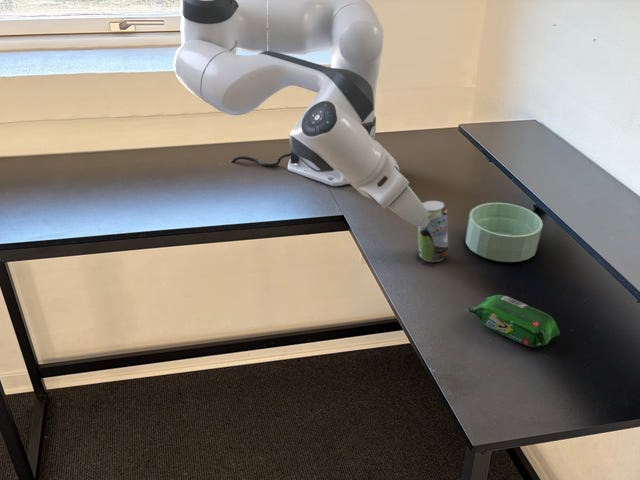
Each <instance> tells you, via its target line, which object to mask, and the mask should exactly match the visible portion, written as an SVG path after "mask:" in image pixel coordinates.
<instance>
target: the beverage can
mask: <svg viewBox="0 0 640 480" xmlns="http://www.w3.org/2000/svg"><path fill="white" fill-rule="evenodd" d="M422 204H423V205H424V206H425V208H426V209H427V211H428V213H429V216H428V217H427V219H428V220H429V221H430V223H429V224H428V225H427V226H426V227H425V228H423V227H422V226H421V225H420V226H418V227H417V244H418V256H419V258H421V259H422V260H424V261H425V262H429V263H436V262H441V261H442V260H444V259H445V258H447V257H448V255H449V231H448V230H449V227H448V225H449V224H448V223H449V222H448V209H447V208H446V206H445V203H444V202H443V201H441V200H425V201H423V202H422Z"/></svg>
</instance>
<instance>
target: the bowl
mask: <svg viewBox="0 0 640 480" xmlns="http://www.w3.org/2000/svg"><path fill="white" fill-rule="evenodd" d="M543 228H544V224H543V220H542V219H541V217H540V216H539V215H538V214H537V213H536V212H534V211H532V210H530V209H529V208H526V207H524V206H521V205H517V204H513V203H507V202H487V203H482V204H478V205H477V206H475V207H473V208H472V209H471V210H470V212H469V214H468V221H467V227H466V231H465V244H466V246H467V247H468V249H469V250H470V251H472V252H473V253H475V254H476V255H478V256H480V257H481V258H485V259H488V260H492V261H496V262H503V263H518V262H522V261H526V260H530V259H531V258H532V257H534V256H535V255H536V253H537V251H538V248H539V244H540V240H541V236H542V231H543Z"/></svg>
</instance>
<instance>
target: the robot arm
mask: <svg viewBox="0 0 640 480" xmlns="http://www.w3.org/2000/svg"><path fill="white" fill-rule="evenodd" d="M179 12H180V13H179V14H180V15H181V18H180V19H181V20H180V33H181V34H180V36H181V46H179V48H178V49H177V50H176V53H175V55H174V58H173V59H174V61H173V70H174V74H175V76H176V78H177V80H178V81H179V82H180V83H181V84H182V85H183V86H184V87H185V89H186V90H188V91H189V92H190V93H191V94H193V95H194V96H196V98H198V99H199V100H201V101H202V102H203V103H205V104H207V105H208V106H209V107H212V108H213V109H216V110H217V111H219V112H220V113H223V114H226V115H230V116H242V115H245V114H249V113H250V112H252V111H254V110H256V109H258V108H259V107H260V106H261V105H262V104H263V103H264V102H266V101H267V100H268V99H269V98H270V97H272V96H273V95H275V94H277V93H278V92H279V91H281V90H283V89H284V88H288V87H292V86H293V87H294V86H295V87H298V88H302V89H305V90H308V91H311V92H315V93H317V94H316V95H315V97H314V98H313V99H312V100H311V102H310V104H309V106H308V107H307V108H306V110H305V111H304V112H303V113H302V115H301V116H300V117H299V119H298V120H297V122H296V123H295V125H294V126H293V128H292V130H291V132H290V134H289V135H288V137H289V139H288V140H289V146H290V152H288V153H284V154H281V155H280V156H279V157H278V158H277V160H276V162H273V163H269V162H268V163H266V162H263V161H262V160H261V159H259V158H254V157H251V156H246V155H239V156H236V157H234V158H232V159H231V160H230V163H235V162H236V161H239V160H246V161H250V162H255V163H258V164H259V165H260V166H263V167H270V168H271V167H276V166H278V165H279V164H280V163H281V161H282V159H284V158H287V157H290V159H289V161H288V163H287V170H288V171H289V172H292V173H295V174H297V175H300V176H303V177H306V178H309V179H311V180H313V181H314V180H315V181H316V182H320V183H323V184H325V185H328V186H331V187H340V186H344V185H350V186H352V187H353V189H355V191H357V192H358V193H359V194H361V196H363V197H365V198H368V199H370V200H373V201H374V202H376V203H377V205H379V206H380V207H382V208H383V209H386V208H387V209H389V210H390V211H391V212H392V213H394V214H395V215H396V216H398V217H399V218H401V219H402V220H403V221H405V222H406V223H407V224H409V225H411V226H412V227H414V228H418V226H420V225H421V226H422V227H423V228H425V227H426V226H427V225H428V224H429V223H430V221H429V220H428V219H427V217H428V216H429V213H428V211H427V209H426V208H425V206H424V205H423V204H422V203H423V202H422V201H421V200H420V198H419V197H418V196H417V195H416V193H415V192H414V191H413V190H412V188H411V186H409V184H410V182H409V180H408V179H407V178H406V176H405V175H404V174H403V173H402V171H401V170H400V167H399V165H398V163H397V160H396V159H395V158H394V157H393V156H392V154H391V153H389V151H388V150H387V149H386V148H385V147H384V146H383V145H381V143H380V142H379V141H377V140H375V138H376V133H377V126H376V125H377V118H376V115H375V114H376V113H375V112H376V99H377V86H378V80H379V74H380V69H381V62H382V56H383V46H384V37H385V35H384V29H383V28H384V27H383V26H382V24H381V22H380V20H379V18H378V15H377V14H376V12H375V10H374V8H373V7H372V5H371V4H370V3H369V2H368V1H367V0H180V7H179ZM237 50H241V51H246V52H251V53H257V54H250V55H241V54H237ZM330 50H331V62H330V63H331V64H330V65H331V66H330V67H329V66H325V65H323V64H319V63H315V62H312V61H308V60H306V59H302V58H299V57H296V56H299V55H300V56H303V55H306V54H309V53H315V52H321V51H322V52H323V51H330ZM292 55H296V56H292Z"/></svg>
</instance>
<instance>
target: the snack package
mask: <svg viewBox="0 0 640 480" xmlns="http://www.w3.org/2000/svg"><path fill="white" fill-rule="evenodd" d="M468 312H469V313H471V314H474V315H475V316H477V318H478V319H479V320H480V322H481V323H482V325H484V326H485V327H486V328H488V329H489V330H490V331H493V332H495V333H496V334H498V335H501V336H503V337H505V338H507V339H510V340H511V341H514V342H517V343H518V344H521V345H523V346H526V347H529V348H538V347H543V346H547V345H548V344H549V342H550V341H551V340H552V339H554V338H556V337H558V336H560V334H561V331H560V330H559V327H558V325H557V322H556V320H555V319H554V318H553V317H552V316H551V315H550V314H548V313H546V312H544V311H543V310H541V309H537V308H535V307H533V306H530V305H528V304H526V303H524V302H522V301H519V300H517V299H514V298H512V297H511V296H507V295H503V294H495V295H492V296H487V297H485V298H484V299H483V301H482V302H480V304H478V305H476V306H473V307H472V308H468Z"/></svg>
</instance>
